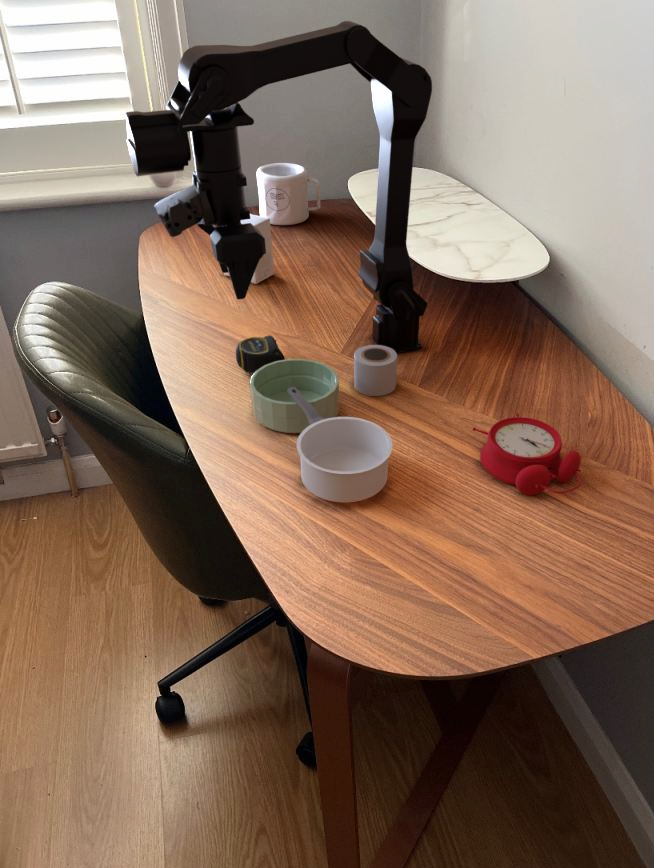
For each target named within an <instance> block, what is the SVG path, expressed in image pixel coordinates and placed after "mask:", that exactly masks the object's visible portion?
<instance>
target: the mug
mask: <svg viewBox="0 0 654 868" xmlns="http://www.w3.org/2000/svg"><path fill="white" fill-rule="evenodd" d="M256 182H257V190H258V191H257V192H258V203H259V211H258V212H259V216H261V217H265V218H269V219H270V225H273V226H274V225H275V226H292V225H293V226H294V225H297V224H301V223H304V222H305V221H306V220H307V219H308V218H309V216H310V212H315V211H319V210H320V209H321V207H322V206H321V184H320V181H319V180H318V179H316V178H313V177H309V176H308V170H307V169H306V167H304V166H303V165H301V164H296V163H291V162H276V163H275V162H274V163H268V164H265V165H261V166H259V168H257V170H256ZM308 182H309V183H314V184H316V206H314V207H311V206H310V207H309V196H308V195H309V194H308V193H309V191H308Z"/></svg>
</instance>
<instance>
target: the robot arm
mask: <svg viewBox="0 0 654 868" xmlns="http://www.w3.org/2000/svg"><path fill="white" fill-rule="evenodd" d="M347 65H350V66H351V67H352V68H353V69H354V70H355V71H356V72H357V73H358V74H359V75H360V76H362V78H364V79H365V80H366V81H368V82H369V83H370V88H371V99H372V107H373V108H372V109H373V113H374V117H375V120H376V124H377V128H378V130H379V131H378V132H379V154H378V171H377V185H376V186H377V188H376V204H375V205H376V206H375V220H374V221H375V223H374V237H373V241H372V243H371V245H370V247H369V249H368V250H367V249H361V250H359V260H360V265H359V269H358V273H357V276H358V277H359V278H360V279H361V282H362V285H363V286H364V288H365V289H366V290H367V291H368V292H369V294H371V295H372V297H373V299H374V300H375V301H377V302H378V303H379V304H377V305H375V315H373V316H372V334H371V339H372V341H373V342H374V343H375V345H382V346H387V347H389V348H391V349H393V350H394V351H395V352H396V353H398V354H399V353H403V352H404V353H405V352H410V351H415V350H421V349H423V343H421V341H420V340H419V331H420V317H423V316H424V314H425V312H426V310H427V307H428V302H427V301H426V300H425V299H424V298H423V297H422V296H421V295H419V293H417V292H416V291H415V289H414V288H415V286H414V284H415V283H414V271H413V270H414V269H413V265H412V261H411V258H410V253H409V250H408V245H407V238H408V226H409V214H410V203H411V190H412V181H413V179H412V178H413V166H414V157H415V143H416V138H417V136H418V134H419V132H420V131H421V129H422V127H423V125H424V123H425V121H426V119H427V116H428V111H429V107H430V102H431V99H432V94H433V80H432V77H431V75H430V74H429V73H428V71H427V70H426V68H425V67H423V66H421V64H418V63H415V62H413V61H410V60H408V59H405V58H403V57H400V56H399V55H398V54H397V53H395V52H394V51H393V50H391V49H390V48H389V47H388V46H386V45H385V44H384V43H382V42H381V41H380V40H379V39H377V37H376V36H374V35H373V34H372V32H371V31H370V30H369V29H368V28H367V27H366V26H364V25H362V24H359V23H356V22H353V21H351V20H344V21H342V22H339V23H338V24H336V25H333V26H329V27H324V28H320V29H317V30H312V31H307V32H304V33H299V34H295V35H292V36H288V37H283V38H278V39H274V40H271V41H267V42H262V43H257V44H254V45H234V44H233V45H232V44H231V45H230V44H203V45H201V44H199V45H194V46H191V47H189V48H187V50H185V51H184V52H183V53H182V56H181V58H180V60H179V62H178V69H177V72H178V74H177V75H178V80H177V82H176V84H175V86H174V88H173V90H172V92H171V95H170V96H169V99H168V101H167V103H166V106H165V108H166V109H163V110H153V111H139V110H133V111H126V112H125V114H124V115H125V120H126V134H127V138H126V145H127V150H128V154H129V158H130V162H131V165H132V169H133V171H134V174H135V176H136V177H145V176H153V175H162V174H169V173H177V172H178V173H179V172H184V171H185V167H189V162H190V161H192V155H193V161H194V168H195V170H193V174H191V179H192V180H191V181H192V185H190V186H188V187H186V188H183V189H180V190H178V191H176V192H174V193H172V194H170V195H168V196H166V197H165V198H163V199H160V200H159V201H157V202H156V203H155V204H154V209H155V211H156V213H157V215H158V217H159V219H160V221H161V223H162V224H163V226H164V228H165V229H166V231H167V233H168V235H169V237H171V238H175V237H178V236H180V235H181V234H182V233H183V232H184V231H186V230H187V229H190V228H191V227H194V226H196V225H197V227H199V229H200V230H202V231H203V232H205V233H206V235H208V236H209V239H210V246H211V249H212V254H213V257H215V258H214V259H215V260H216V261H217V262H218V265H219V268H220V270H221V272H222V273H223V274H224V273H229V276H228V277H229V279H230V282H231V285H232V288H233V289H232V290H233V292H234V294H235V295H234V296H235V297H236V300H245V299H246V297H247V293H248V292H249V288H250V286H251V284H252V283H251V280H252V277H253V275H254V272H255V270H256V267H257V265H258V263H259V260H260V258H262V257H263V255H264V254H266V246H265V238H264V237H263V235H262V234H261V233H260V231H259V230H258V229H257V228H256V227H255V226H253V225H252V224H251V223H247V224H241V220H246V219H250V214H251V212H250V211H251V210H250V209H249V208H248V206H246V195H245V187H247V186H248V182H247V176H246V175H245V174H244V173H243V165H242V158H241V148H240V147H241V146H240V138H239V130H238V128H239V127H245V126H247V127H249V126H253V125H254V124H255V120H254V118H253V117H252V116H250V115H249V114H248V113H247V112H246V111H245V110H244V108H242V105H241V103H239V102H241V101H243V100H246V99H247V98H249V97H250V96H251V95H252V94H254V93H255V92H257V91H258V90H259V89H262V88H263V87H266V86H267V85H271V84H275V83H279V82H283V81H287V80H291V79H294V78H299V77H303V76H306V75H307V76H308V75H311V74H315V73H319V72H322V71H327V70H330V69H334V68H338V67H343V66H347ZM188 133H190V138H189V134H188ZM189 139H190V140H191V144H190V140H189ZM191 147H192V151H191ZM192 153H193V154H192Z"/></svg>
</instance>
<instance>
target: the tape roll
mask: <svg viewBox="0 0 654 868" xmlns="http://www.w3.org/2000/svg"><path fill="white" fill-rule="evenodd" d="M397 367H398V354H397V353H396V352H395V351H394V350H393V349H391V348H389V347H387V346H382V345H377V344H367V345H364V346H360V347H359V348H357V349H356V350H355V351H354V353H353V387H354V390H356V391H357V392H358V393H360V394H361V395H365V396H369V397H382V396H386V395H389V394H391V393H392V392H394V390H396V387H397V369H398V368H397Z"/></svg>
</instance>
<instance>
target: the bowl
mask: <svg viewBox="0 0 654 868" xmlns="http://www.w3.org/2000/svg"><path fill="white" fill-rule="evenodd" d="M291 387H296V389H297V390H298V391H299V392H300V393H301V394H302V395H303V396H304V397H305V398H306V400H307V401H308V402H309V403H310V404H311V405H312V406H313V407H314V408H315V409H316V411H317V412H318V413H319V414H320V416H321V417H323V418H325V419H328V418H333V417H338V414H339V412H340V377H339V375H338V373H337V372H336V371H335V369H334V368H332V367H330V366H329V365H327V364H326V363H323V362H320V361H317V360H313V359H306V358H287V359H286V358H285V360H280V361H275V362H272V363H269V364H267V365H264V366H263V367H261V368H260V369H258V370H256V372H255V373H252V375H251V377H250V381H249V390H250V399H251V409H252V414H253V417H254V418H255V420H256V422H258V423H259V424H260V425H262V426H263V427H265V428H268V429H270V430H272V431H276V432H279V433H283V434H301V433H302V431H303V430H304V429H306V428H307V427H308V426H310V424H309V421H308V419H307V416H306V414H305V412H304V411H303V410H302V409H301V407H300V406H299V405H298V404H297V403H296V402H295V400H294V399H293V398H292V397H291V396H290V394H289V393H288V392H287V389H288V388H291Z"/></svg>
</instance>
